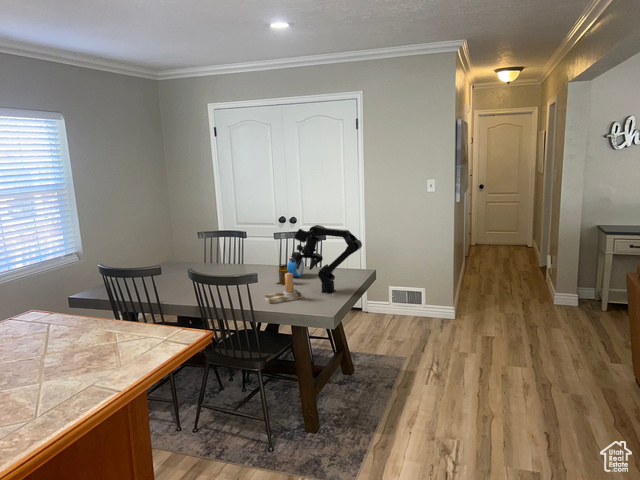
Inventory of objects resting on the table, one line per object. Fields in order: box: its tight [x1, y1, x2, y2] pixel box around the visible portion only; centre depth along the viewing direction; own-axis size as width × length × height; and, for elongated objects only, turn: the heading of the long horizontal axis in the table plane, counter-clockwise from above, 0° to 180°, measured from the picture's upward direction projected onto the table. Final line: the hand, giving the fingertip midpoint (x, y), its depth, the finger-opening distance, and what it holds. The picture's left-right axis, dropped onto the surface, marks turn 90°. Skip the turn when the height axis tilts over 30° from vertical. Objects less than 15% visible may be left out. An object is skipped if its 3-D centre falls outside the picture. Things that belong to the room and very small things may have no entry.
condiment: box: [274, 263, 289, 287], centre depth 294 cm, size 7×8×12 cm
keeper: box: [282, 272, 297, 296], centre depth 263 cm, size 6×6×12 cm
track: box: [264, 289, 304, 304], centre depth 263 cm, size 20×9×3 cm, turn 111°
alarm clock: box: [287, 255, 305, 278], centre depth 310 cm, size 13×6×15 cm, turn 157°
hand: (303, 269), depth 277 cm, fingers open, 9 cm apart
